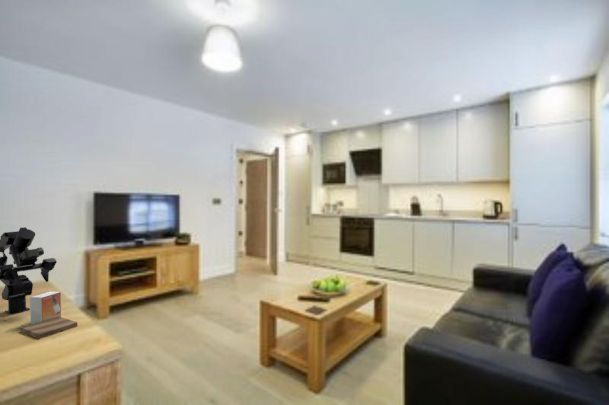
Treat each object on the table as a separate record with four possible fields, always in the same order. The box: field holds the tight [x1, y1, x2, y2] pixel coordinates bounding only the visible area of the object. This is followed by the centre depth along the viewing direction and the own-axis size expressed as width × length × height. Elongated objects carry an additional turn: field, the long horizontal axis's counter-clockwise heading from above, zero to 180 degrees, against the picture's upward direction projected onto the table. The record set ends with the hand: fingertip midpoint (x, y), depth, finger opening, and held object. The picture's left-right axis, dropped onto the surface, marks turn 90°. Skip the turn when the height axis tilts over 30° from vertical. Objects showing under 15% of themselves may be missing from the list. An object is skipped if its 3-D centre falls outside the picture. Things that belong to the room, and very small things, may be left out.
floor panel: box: [20, 316, 78, 340], centre depth 119 cm, size 14×12×2 cm
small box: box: [29, 291, 62, 325], centre depth 127 cm, size 8×6×10 cm
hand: (35, 283), depth 131 cm, fingers open, 8 cm apart
